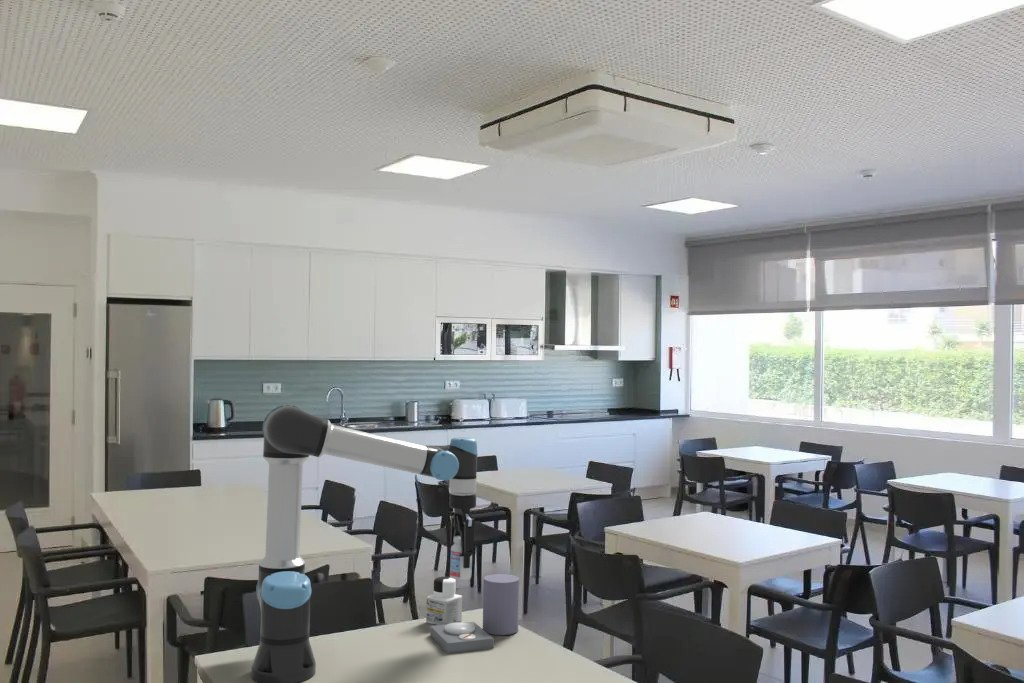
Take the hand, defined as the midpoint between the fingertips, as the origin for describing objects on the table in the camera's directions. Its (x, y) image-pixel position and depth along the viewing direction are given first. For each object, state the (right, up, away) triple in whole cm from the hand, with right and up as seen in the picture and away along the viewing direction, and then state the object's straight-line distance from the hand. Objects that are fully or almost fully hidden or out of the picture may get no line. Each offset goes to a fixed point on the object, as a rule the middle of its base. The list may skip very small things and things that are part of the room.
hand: (461, 576), depth 236 cm
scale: (0, -17, -2) cm, 18 cm away
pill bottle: (0, -1, 0) cm, 1 cm away
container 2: (+11, -18, +9) cm, 23 cm away
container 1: (-6, -18, +16) cm, 25 cm away
